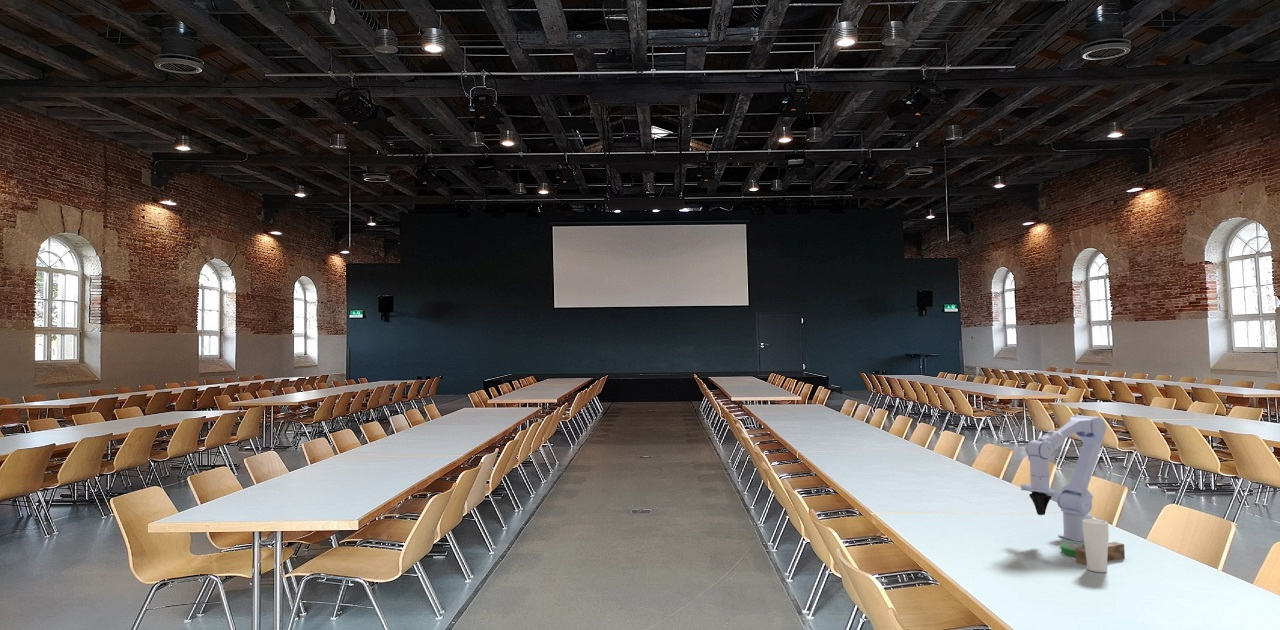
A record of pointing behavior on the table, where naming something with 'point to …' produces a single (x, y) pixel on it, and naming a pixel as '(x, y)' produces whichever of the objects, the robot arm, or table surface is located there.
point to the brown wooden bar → (1113, 553)
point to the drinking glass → (1096, 544)
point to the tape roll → (1070, 549)
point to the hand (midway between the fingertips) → (1041, 514)
